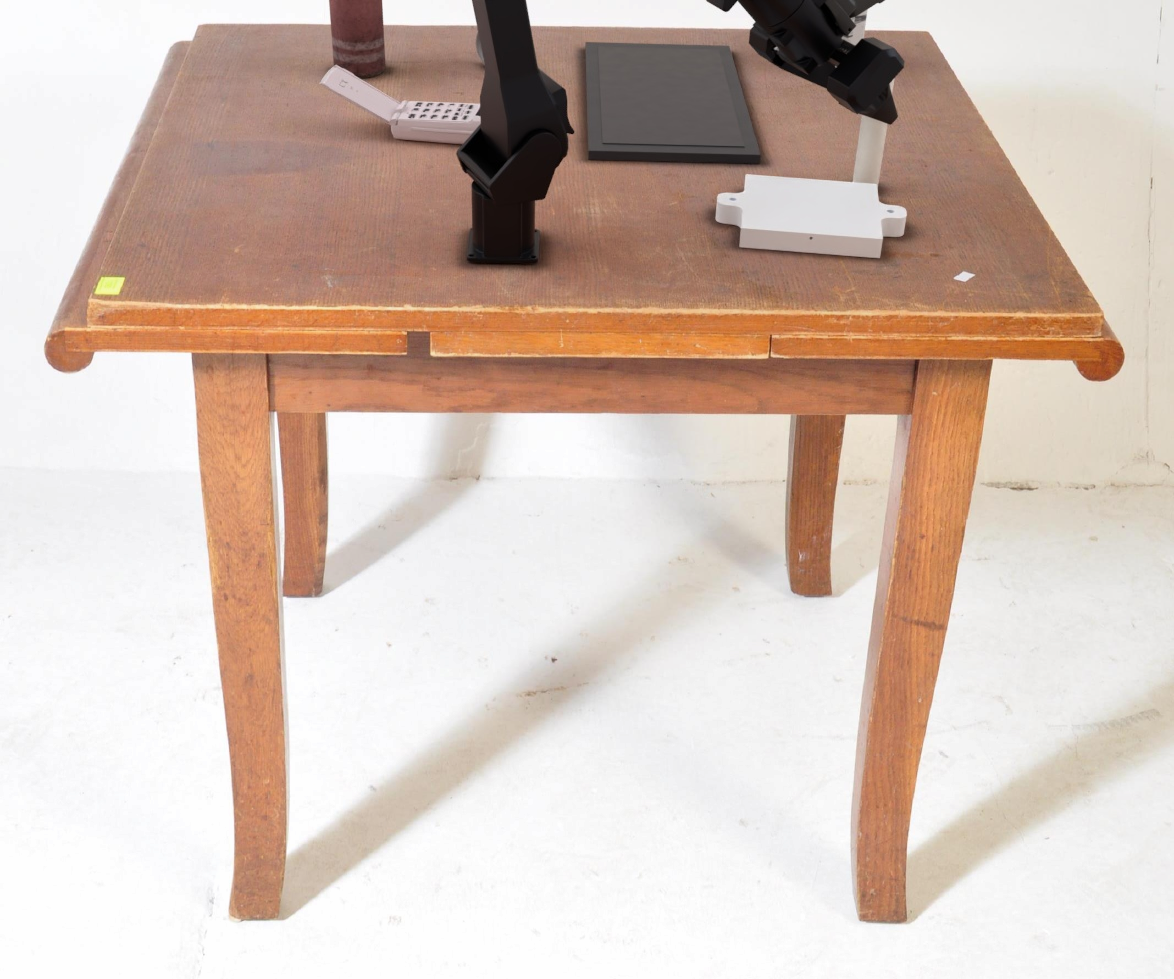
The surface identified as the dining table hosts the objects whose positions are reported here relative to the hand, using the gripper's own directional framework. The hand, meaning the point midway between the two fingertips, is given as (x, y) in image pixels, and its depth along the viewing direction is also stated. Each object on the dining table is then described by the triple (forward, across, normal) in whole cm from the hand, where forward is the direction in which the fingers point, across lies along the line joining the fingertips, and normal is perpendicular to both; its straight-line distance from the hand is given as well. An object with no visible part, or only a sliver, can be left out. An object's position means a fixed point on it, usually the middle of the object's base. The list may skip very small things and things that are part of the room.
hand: (866, 104), depth 140 cm
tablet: (+2, +30, +11) cm, 32 cm away
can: (-19, +52, +32) cm, 64 cm away
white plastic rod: (+7, 0, +6) cm, 9 cm away
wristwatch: (-8, +47, +21) cm, 52 cm away
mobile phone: (-18, +29, +30) cm, 45 cm away
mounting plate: (0, -5, +13) cm, 14 cm away
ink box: (+20, +35, -7) cm, 41 cm away
